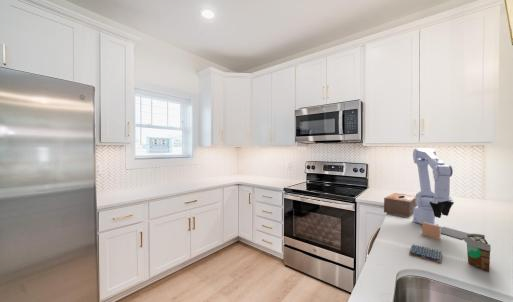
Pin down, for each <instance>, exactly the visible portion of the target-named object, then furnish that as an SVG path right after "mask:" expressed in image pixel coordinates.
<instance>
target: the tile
mask: <svg viewBox="0 0 513 302" xmlns="http://www.w3.org/2000/svg"><path fill="white" fill-rule="evenodd" d="M421 227H422V228H421V229H422V230H421V233H422V235H424V236H427V237H431V238H433V239H435V240H441V237H442V234H441V227H442V226H440V225H434V224H430V223H426V222H422V224H421Z"/></svg>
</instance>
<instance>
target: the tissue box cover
mask: <svg viewBox="0 0 513 302" xmlns="http://www.w3.org/2000/svg"><path fill="white" fill-rule="evenodd" d="M415 200H416V195H414V194H413V195H412V194H406V193H399V192H398V193H397V192H394V193H391V194H389V195H387V196H386V197H384V198H383V213H387V214H391V215H395V216H396V215H397V216H400V217H401V216H402V217H407V218H410V217H411V216H412V215H413V212H414V208H415V207H416V206H417V205H416V201H415Z"/></svg>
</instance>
